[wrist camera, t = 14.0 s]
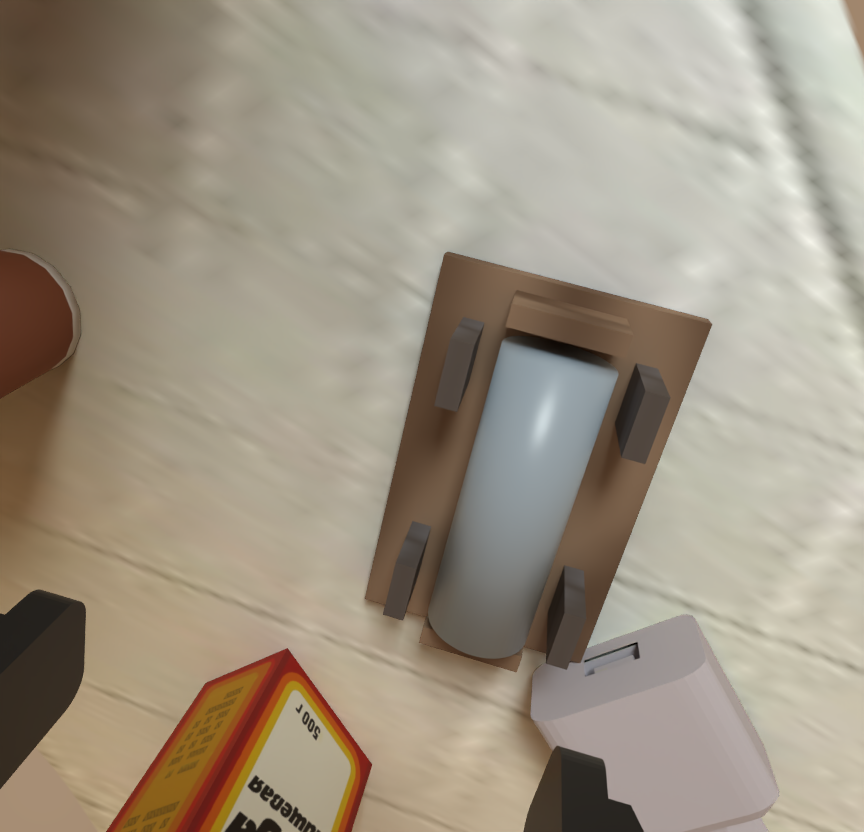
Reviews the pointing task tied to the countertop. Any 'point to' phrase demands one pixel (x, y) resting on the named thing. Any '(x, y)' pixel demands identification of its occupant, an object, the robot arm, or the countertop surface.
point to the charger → (661, 730)
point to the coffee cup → (33, 319)
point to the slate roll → (518, 492)
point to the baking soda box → (253, 760)
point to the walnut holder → (459, 420)
